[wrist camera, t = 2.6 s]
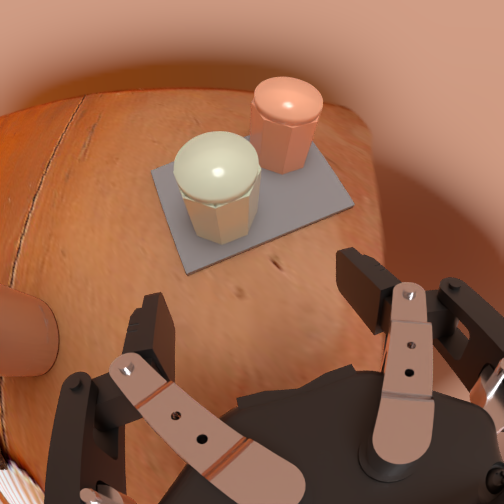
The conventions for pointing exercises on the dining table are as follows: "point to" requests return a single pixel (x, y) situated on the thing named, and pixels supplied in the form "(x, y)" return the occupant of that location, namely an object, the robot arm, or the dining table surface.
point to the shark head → (2, 462)
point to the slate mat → (268, 211)
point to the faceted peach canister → (284, 122)
